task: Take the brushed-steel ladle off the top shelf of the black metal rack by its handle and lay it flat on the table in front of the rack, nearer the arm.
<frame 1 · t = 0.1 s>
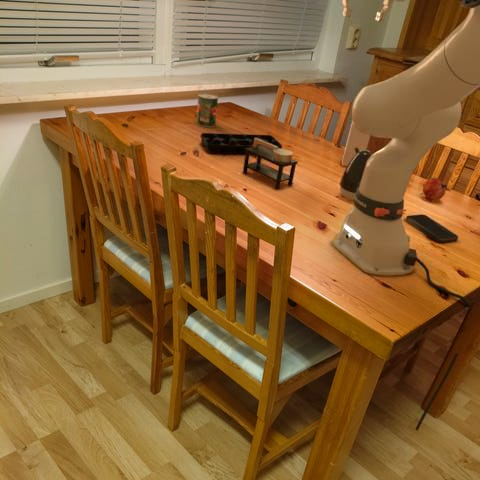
hand: (363, 18, 122), 48 cm above the table, tool pointing down, fingers open, 8 cm apart
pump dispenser: (352, 198, 154), on the table
ladle: (271, 154, 153), point 8 cm above the table, touching rack
pomegranate: (429, 199, 162), on the table
canned tomato: (205, 125, 198), on the table
milk carton: (350, 165, 180), on the table
phone: (430, 230, 141), on the table
rack: (267, 179, 157), on the table
egg carton: (240, 150, 178), on the table
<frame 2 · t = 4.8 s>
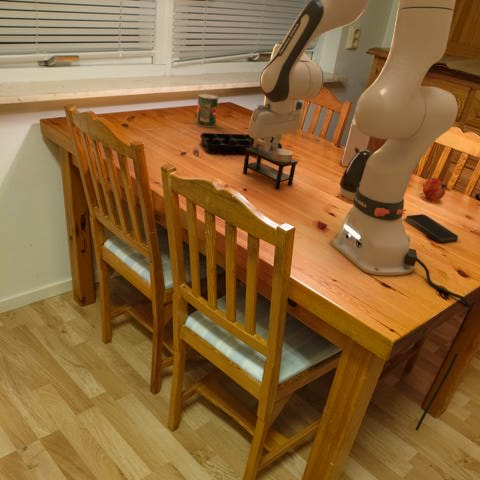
hand: (270, 149, 152), 9 cm above the table, tool pointing down, fingers closed on ladle
ladle: (271, 154, 153), point 8 cm above the table, touching gripper, rack
everything else where it was.
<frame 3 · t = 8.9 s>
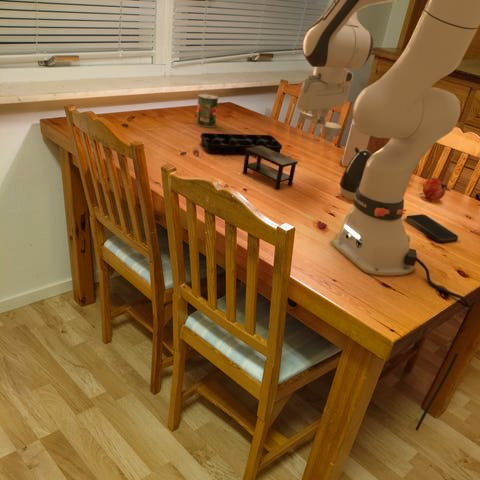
hand: (317, 123, 147), 19 cm above the table, tool pointing down, fingers closed on ladle
ladle: (317, 128, 147), point 18 cm above the table, touching gripper
everything else where it was.
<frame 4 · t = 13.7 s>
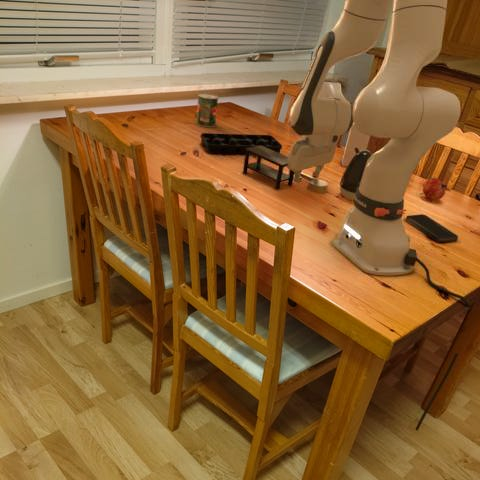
hand: (306, 179, 157), 2 cm above the table, tool pointing down, fingers open, 8 cm apart
ladle: (306, 184, 158), on the table
everything else where it was.
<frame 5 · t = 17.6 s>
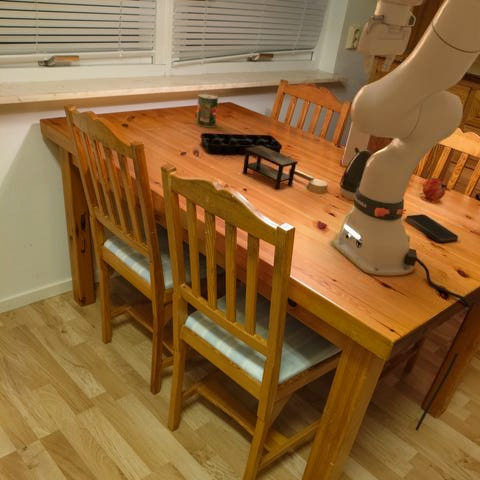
hand: (375, 72, 139), 35 cm above the table, tool pointing down, fingers open, 8 cm apart
nothing on the table moved.
at the end: ladle inside the target area (0.1 cm from its centre), on the table; ladle touching table; ladle tilted 0° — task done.
